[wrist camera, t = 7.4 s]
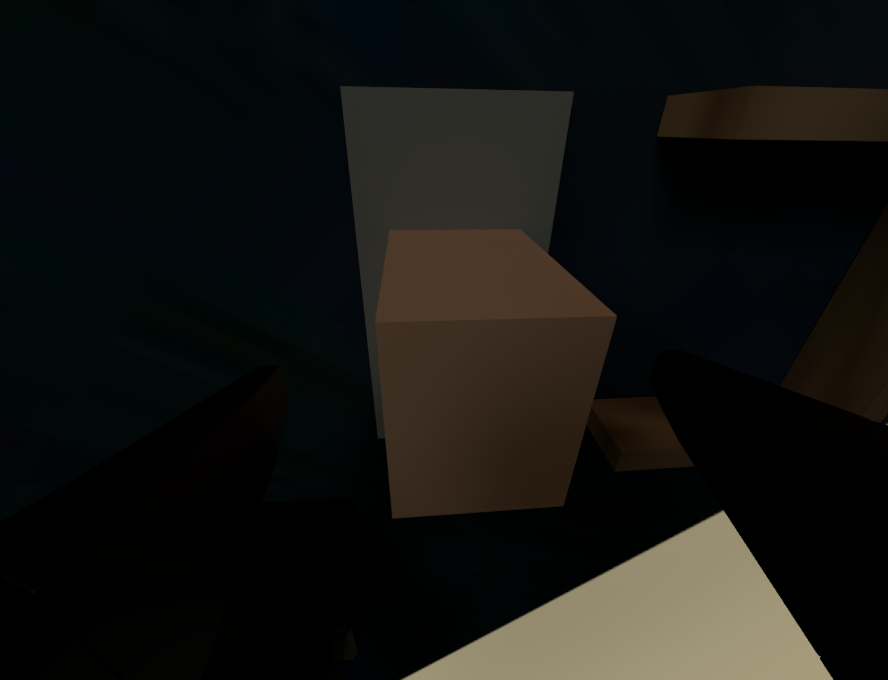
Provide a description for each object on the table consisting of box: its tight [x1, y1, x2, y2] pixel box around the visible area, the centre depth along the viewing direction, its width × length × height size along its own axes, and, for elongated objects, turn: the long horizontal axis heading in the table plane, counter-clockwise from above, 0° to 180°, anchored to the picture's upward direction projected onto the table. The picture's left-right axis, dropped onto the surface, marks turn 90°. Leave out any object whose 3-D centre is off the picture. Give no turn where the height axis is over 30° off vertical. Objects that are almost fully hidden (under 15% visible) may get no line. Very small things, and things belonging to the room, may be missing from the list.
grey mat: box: [340, 86, 574, 438], centre depth 13 cm, size 6×12×1 cm, turn 179°
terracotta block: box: [375, 229, 617, 519], centre depth 10 cm, size 4×5×6 cm
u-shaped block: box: [586, 86, 888, 472], centre depth 12 cm, size 10×12×3 cm
